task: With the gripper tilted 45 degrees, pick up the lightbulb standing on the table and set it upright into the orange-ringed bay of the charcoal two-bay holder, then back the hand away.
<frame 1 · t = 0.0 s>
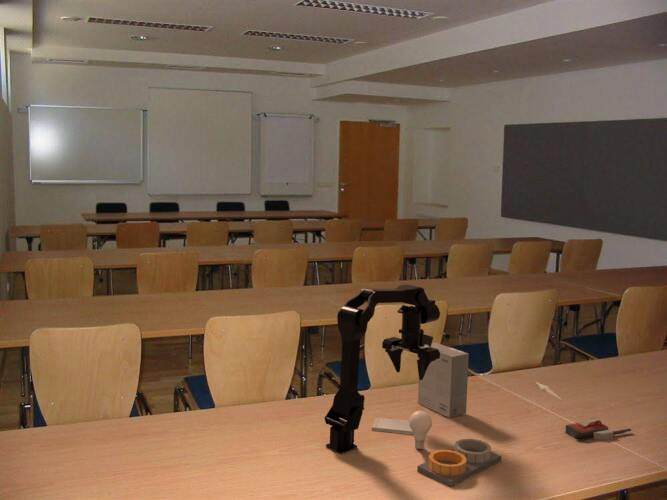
hand: (409, 375, 211), 15 cm above the table, tool pointing down, fingers open, 9 cm apart
lightbulb: (419, 449, 194), on the table
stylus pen: (548, 394, 241), on the table
hard drive box: (441, 409, 224), on the table
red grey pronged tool: (596, 435, 207), on the table
hard drive: (393, 429, 209), on the table
bulb holder: (459, 466, 184), on the table
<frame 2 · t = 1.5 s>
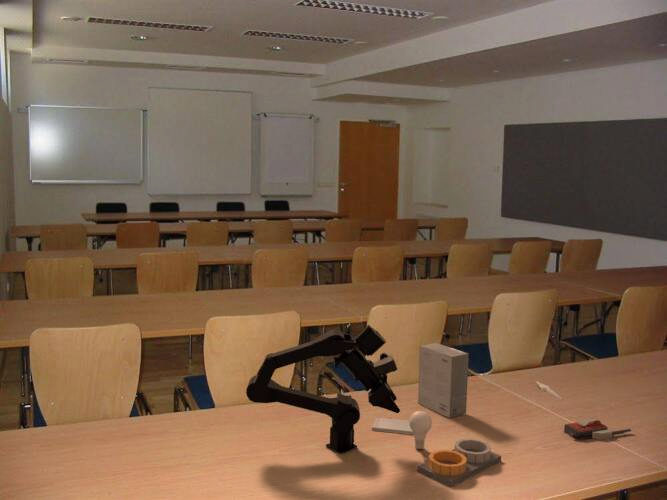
hand: (397, 405, 192), 12 cm above the table, tool tilted 45°, fingers open, 9 cm apart
nothing on the table moved.
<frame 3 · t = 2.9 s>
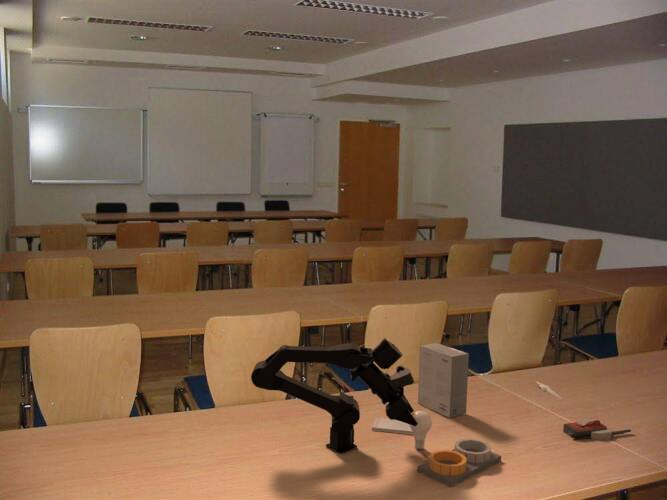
hand: (414, 418, 192), 9 cm above the table, tool tilted 45°, fingers open, 9 cm apart
nothing on the table moved.
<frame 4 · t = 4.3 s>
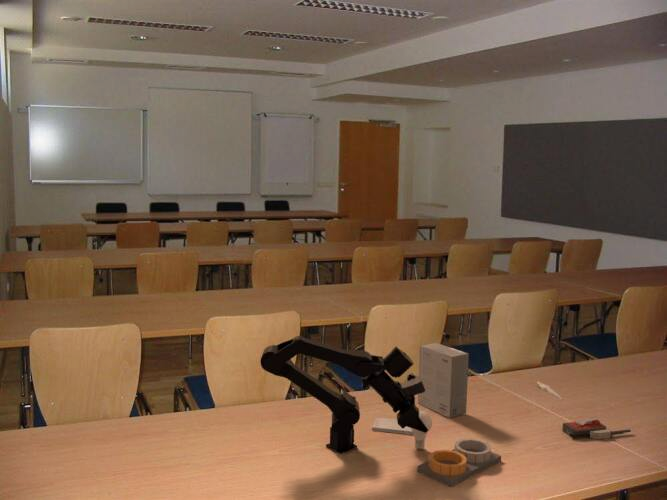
hand: (425, 426, 193), 7 cm above the table, tool tilted 45°, fingers closed on lightbulb, 6 cm apart
lightbulb: (419, 449, 194), on the table, touching gripper
everything else where it was.
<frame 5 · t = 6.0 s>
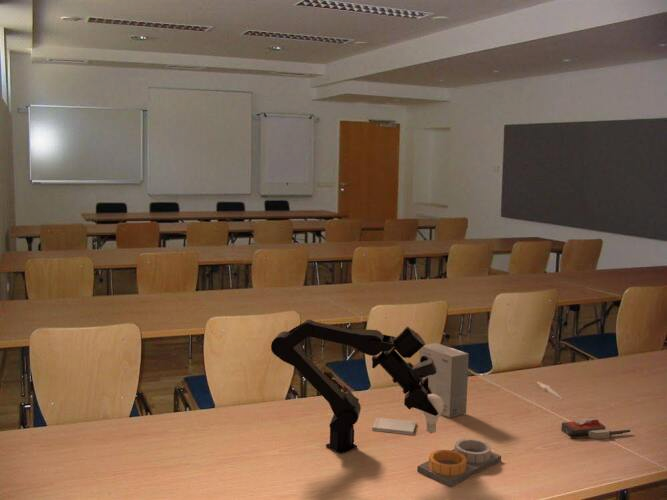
hand: (437, 410, 188), 13 cm above the table, tool tilted 45°, fingers closed on lightbulb, 6 cm apart
lightbulb: (431, 433, 189), point 6 cm above the table, touching gripper
everything else where it was.
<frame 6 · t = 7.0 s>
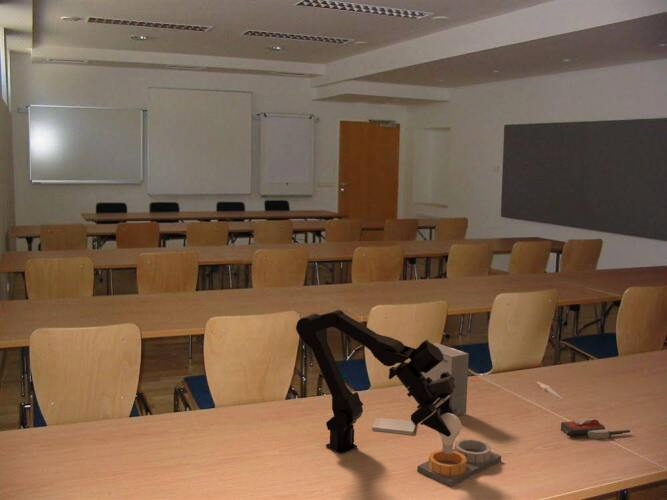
hand: (453, 431, 178), 12 cm above the table, tool tilted 45°, fingers closed on lightbulb, 6 cm apart
lightbulb: (447, 454, 179), point 5 cm above the table, touching gripper
when the fingers open (9 cm above the table, at t = 8.0 s): lightbulb stays where it is, resting on bulb holder.
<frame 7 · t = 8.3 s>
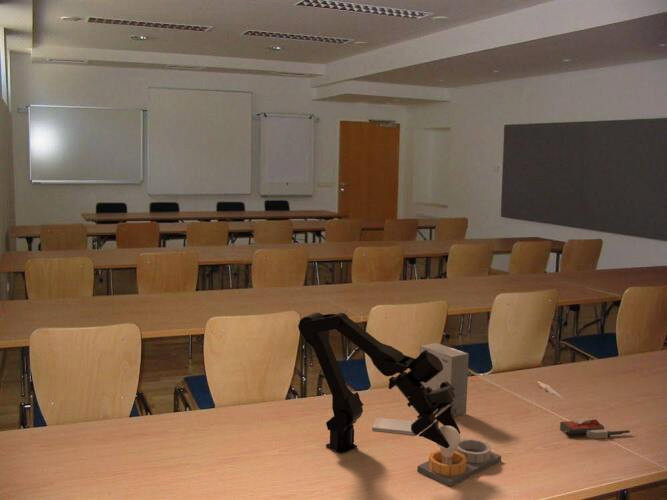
hand: (453, 440, 178), 9 cm above the table, tool tilted 45°, fingers open, 9 cm apart
lightbulb: (446, 467, 180), point 1 cm above the table, touching bulb holder
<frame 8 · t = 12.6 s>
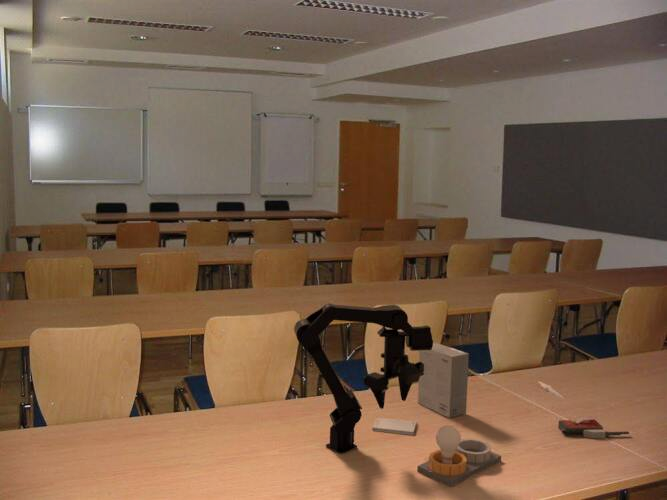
hand: (392, 404, 194), 12 cm above the table, tool pointing down, fingers open, 9 cm apart
at the end: lightbulb 0.2 cm from the target spot on the bulb holder, point 1.3 cm above the bulb holder's base; lightbulb tilted 0°; the gripper is holding nothing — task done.
